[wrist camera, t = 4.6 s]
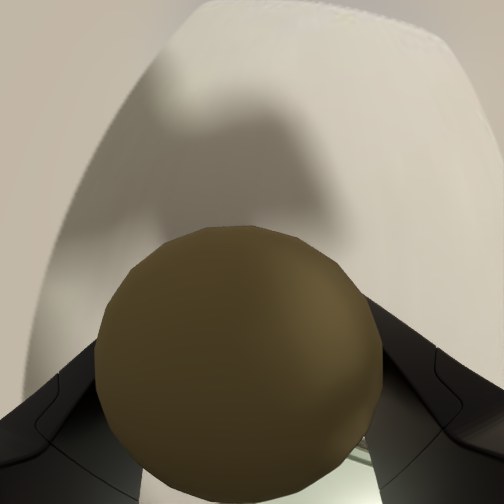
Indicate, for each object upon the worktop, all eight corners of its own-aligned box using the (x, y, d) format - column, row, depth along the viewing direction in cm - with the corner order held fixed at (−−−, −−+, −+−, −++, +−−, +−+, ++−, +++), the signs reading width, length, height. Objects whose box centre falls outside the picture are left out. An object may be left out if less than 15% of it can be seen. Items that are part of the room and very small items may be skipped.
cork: (176, 320, 14) (8, 282, 4) (280, 265, 15) (303, 112, 4) (232, 423, 13) (161, 572, 2) (339, 367, 13) (484, 426, 3)
